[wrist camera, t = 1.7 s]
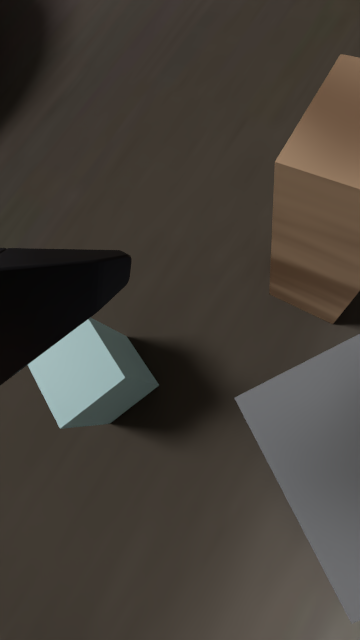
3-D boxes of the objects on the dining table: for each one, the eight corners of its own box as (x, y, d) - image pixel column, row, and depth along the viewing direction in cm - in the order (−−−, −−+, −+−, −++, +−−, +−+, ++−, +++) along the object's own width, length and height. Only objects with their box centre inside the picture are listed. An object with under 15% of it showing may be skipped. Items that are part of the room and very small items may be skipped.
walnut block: (332, 324, 21) (425, 210, 9) (269, 294, 23) (274, 161, 10) (364, 266, 22) (494, 83, 9) (300, 240, 23) (340, 54, 11)
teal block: (109, 423, 23) (60, 428, 18) (80, 372, 25) (26, 362, 19) (159, 385, 23) (125, 377, 17) (126, 336, 25) (86, 315, 19)
